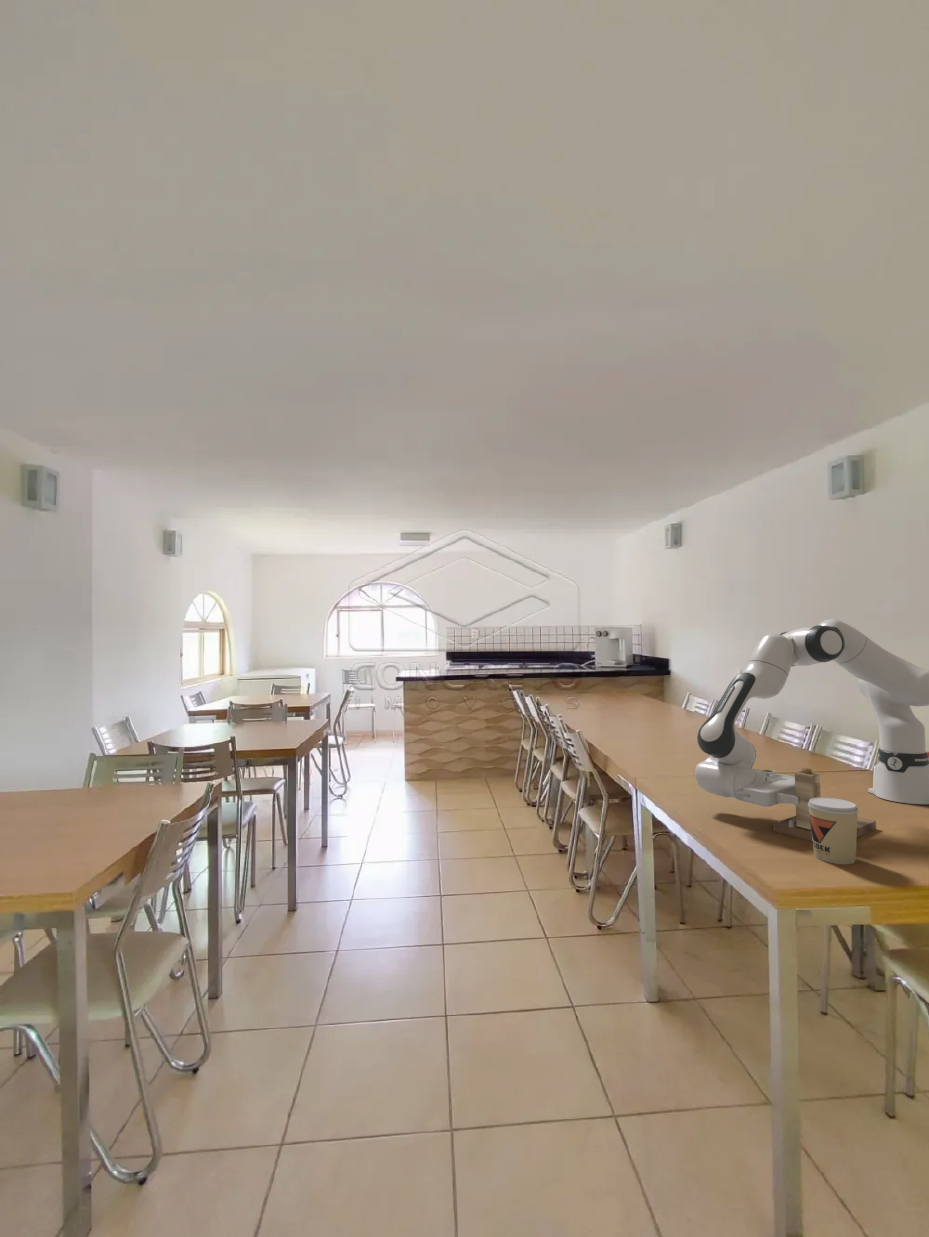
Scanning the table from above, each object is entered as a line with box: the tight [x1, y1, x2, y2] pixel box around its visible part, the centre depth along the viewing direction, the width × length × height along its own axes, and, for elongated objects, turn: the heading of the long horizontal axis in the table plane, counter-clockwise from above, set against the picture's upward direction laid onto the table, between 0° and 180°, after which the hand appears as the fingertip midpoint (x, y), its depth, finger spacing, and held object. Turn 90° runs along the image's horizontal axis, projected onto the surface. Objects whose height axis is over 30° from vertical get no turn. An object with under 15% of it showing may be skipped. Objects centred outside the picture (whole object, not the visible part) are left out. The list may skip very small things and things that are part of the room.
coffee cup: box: [808, 797, 859, 865], centre depth 128 cm, size 9×9×12 cm
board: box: [773, 815, 877, 842], centre depth 146 cm, size 22×14×4 cm, turn 124°
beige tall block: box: [794, 767, 822, 830], centre depth 142 cm, size 4×5×14 cm
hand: (809, 797), depth 142 cm, fingers open, 8 cm apart
